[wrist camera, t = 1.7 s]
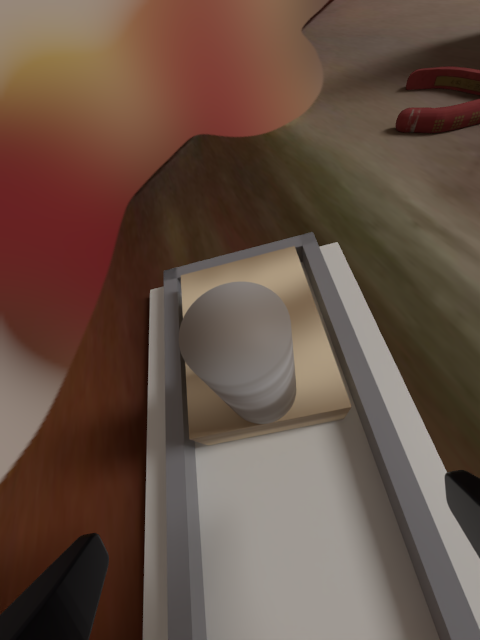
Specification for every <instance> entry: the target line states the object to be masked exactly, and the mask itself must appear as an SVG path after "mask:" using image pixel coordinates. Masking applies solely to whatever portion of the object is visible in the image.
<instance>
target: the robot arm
mask: <svg viewBox="0 0 480 640" xmlns="http://www.w3.org/2000/svg"><path fill="white" fill-rule="evenodd" d="M444 479H445V491H446V500H447V504H448V506H449V508H450V510H451V512H452V514H453V515H454V517H455V519H456V520H457V522H458V524H459V525H460V527H461V529H462V530H463V532H464V534H465V535H466V537H467V538H468V540H469V542H470V543H471V545H472V547H473V548H474V550H475V552H476V553H477V555H478V557H479V558H480V478H478V477H476V476H474V475H472V474H471V473H469V472H467V471H464V470H458V471H452V472H447V473H446V474H445V477H444ZM108 563H109V556H108V552H107V550H106V548H105V546H104V544H103V542H102V540H101V538H100V536H99V535H98V534H97V533H91V534H86V535H82V536H80V537H79V538H78V539H77V540H76V541H75V542H74V543H73V544H72V545H71V546H70V547H69V548H68V549H67V550H66V551H65V552H64V553H63V554H62V555H61V556H60V557H59V558H58V559H56V560H55V561H54V562H53V563H52V564H51V565H50V566H49V567H48V568H47V569H46V570H45V571H44V572H43V573H42V574H41V575H40V576H39V577H38V578H37V579H36V580H35V581H34V582H33V583H32V584H31V585H30V586H29V587H28V588H27V589H26V590H25V591H24V592H23V593H22V594H21V595H20V596H19V597H18V598H17V599H16V600H15V601H14V602H13V603H12V604H11V605H10V606H9V607H8V608H7V609H6V610H5V611H4V612H3V613H2V614H1V615H0V640H89V637H90V633H91V630H92V626H93V622H94V618H95V614H96V610H97V607H98V603H99V599H100V595H101V591H102V587H103V584H104V580H105V576H106V572H107V568H108Z"/></svg>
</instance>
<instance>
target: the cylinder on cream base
mask: <svg viewBox="0 0 480 640" xmlns="http://www.w3.org/2000/svg"><path fill="white" fill-rule="evenodd" d="M181 291H182V310H183V320H182V322H181V326H180V330H179V348H180V351H181V354H182V357H183V359H184V361H185V367H186V386H187V405H188V424H189V439H190V440H193V441H196V442H199V443H202V444H205V445H213V444H218V443H223V442H229V441H234V440H239V439H244V438H249V437H254V436H259V435H264V434H269V433H274V432H280V431H285V430H290V429H295V428H300V427H305V426H310V425H315V424H320V423H326V422H331V421H336V420H341V419H344V418H345V416H346V415H347V413H348V412H349V410H350V409H351V407H352V406H351V403H350V400H349V397H348V395H347V392H346V389H345V386H344V383H343V380H342V378H341V375H340V372H339V369H338V366H337V364H336V361H335V358H334V355H333V352H332V350H331V347H330V344H329V341H328V338H327V336H326V333H325V330H324V327H323V324H322V322H321V319H320V316H319V313H318V310H317V308H316V305H315V302H314V299H313V296H312V293H311V291H310V288H309V285H308V282H307V279H306V277H305V274H304V271H303V268H302V265H301V263H300V260H299V257H298V254H297V251H296V249H295V246H293V247H289V248H285V249H281V250H277V251H273V252H269V253H265V254H262V255H258V256H254V257H250V258H246V259H242V260H238V261H234V262H231V263H227V264H223V265H219V266H215V267H211V268H207V269H203V270H200V271H196V272H192V273H188V274H184V275H181Z"/></svg>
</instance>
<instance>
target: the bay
mask: <svg viewBox="0 0 480 640" xmlns="http://www.w3.org/2000/svg"><path fill="white" fill-rule="evenodd" d="M293 246H295V249H296V251H297V254H298V257H299V260H300V263H301V265H302V268H303V271H304V274H305V277H306V279H307V282H308V285H309V288H310V291H311V293H312V296H313V299H314V302H315V305H316V308H317V310H318V313H319V316H320V319H321V322H322V324H323V327H324V330H325V333H326V336H327V338H328V341H329V344H330V347H331V350H332V352H333V355H334V358H335V361H336V364H337V366H338V369H339V372H340V375H341V378H342V380H343V383H344V386H345V389H346V392H347V395H348V397H349V400H350V403H351V406H352V407H351V409H350V410H349V412H348V413H347V415H346V416H345V418H344V419H341V420H336V421H331V422H326V423H320V424H315V425H310V426H305V427H300V428H295V429H290V430H285V431H280V432H274V433H269V434H264V435H259V436H254V437H249V438H244V439H239V440H234V441H229V442H223V443H218V444H213V445H205V444H202V443H199V442H196V441H193V440H190V439H189V424H188V405H187V386H186V367H185V361H184V359H183V357H182V354H181V351H180V348H179V330H180V326H181V322H182V320H183V310H182V291H181V275H184V274H188V273H192V272H196V271H200V270H203V269H207V268H211V267H215V266H219V265H223V264H227V263H231V262H234V261H238V260H242V259H246V258H250V257H254V256H258V255H262V254H265V253H269V252H273V251H277V250H281V249H285V248H289V247H293ZM446 473H447V472H446V470H445V468H444V465H443V463H442V461H441V459H440V457H439V455H438V453H437V451H436V449H435V446H434V444H433V442H432V440H431V438H430V436H429V434H428V432H427V430H426V427H425V425H424V423H423V421H422V419H421V417H420V415H419V413H418V411H417V409H416V406H415V404H414V402H413V400H412V398H411V396H410V394H409V392H408V390H407V387H406V385H405V383H404V381H403V379H402V377H401V375H400V373H399V371H398V368H397V366H396V364H395V362H394V360H393V358H392V356H391V354H390V352H389V349H388V347H387V345H386V343H385V341H384V339H383V337H382V335H381V333H380V331H379V328H378V326H377V324H376V322H375V320H374V318H373V316H372V314H371V312H370V309H369V307H368V305H367V303H366V301H365V299H364V297H363V295H362V293H361V290H360V288H359V286H358V284H357V282H356V280H355V278H354V276H353V274H352V271H351V269H350V267H349V265H348V263H347V261H346V259H345V257H344V255H343V253H342V250H341V248H340V246H339V244H338V242H336V243H332V244H328V245H325V246H321V247H319V246H318V243H317V241H316V238H315V236H314V234H313V232H311V233H307V234H303V235H300V236H296V237H292V238H288V239H284V240H280V241H277V242H273V243H269V244H265V245H261V246H257V247H254V248H250V249H246V250H242V251H238V252H234V253H231V254H227V255H223V256H219V257H215V258H211V259H208V260H204V261H200V262H196V263H192V264H188V265H185V266H181V267H177V268H173V269H169V270H165V271H164V287H160V288H156V289H152V290H150V319H149V366H148V413H147V461H146V508H145V555H144V602H143V640H480V558H479V557H478V555H477V553H476V552H475V550H474V548H473V547H472V545H471V543H470V542H469V540H468V538H467V537H466V535H465V534H464V532H463V530H462V529H461V527H460V525H459V524H458V522H457V520H456V519H455V517H454V515H453V514H452V512H451V510H450V508H449V506H448V504H447V500H446V491H445V479H444V477H445V474H446Z"/></svg>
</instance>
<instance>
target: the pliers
mask: <svg viewBox="0 0 480 640" xmlns="http://www.w3.org/2000/svg"><path fill="white" fill-rule="evenodd" d="M431 88H443V89H452V90H457V91H462V92H467V93H471V94H476V95H480V70H476V69H470V68H463V67H435V68H424V69H417V70H415V71H414V72H412V73H411V74H410V76H409V78H408V80H407V84H406V90H412V89H431ZM479 123H480V99H477V100H473V101H470V102H466V103H462V104H458V105H454V106H448V107H441V108H407V109H405V110H403V111H402V112H401V113H400V114H399V115H398V118H397V121H396V129H397V131H399V132H410V133H439V132H445V131H451V130H456V129H460V128H464V127H467V126H471V125H475V124H479Z"/></svg>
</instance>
